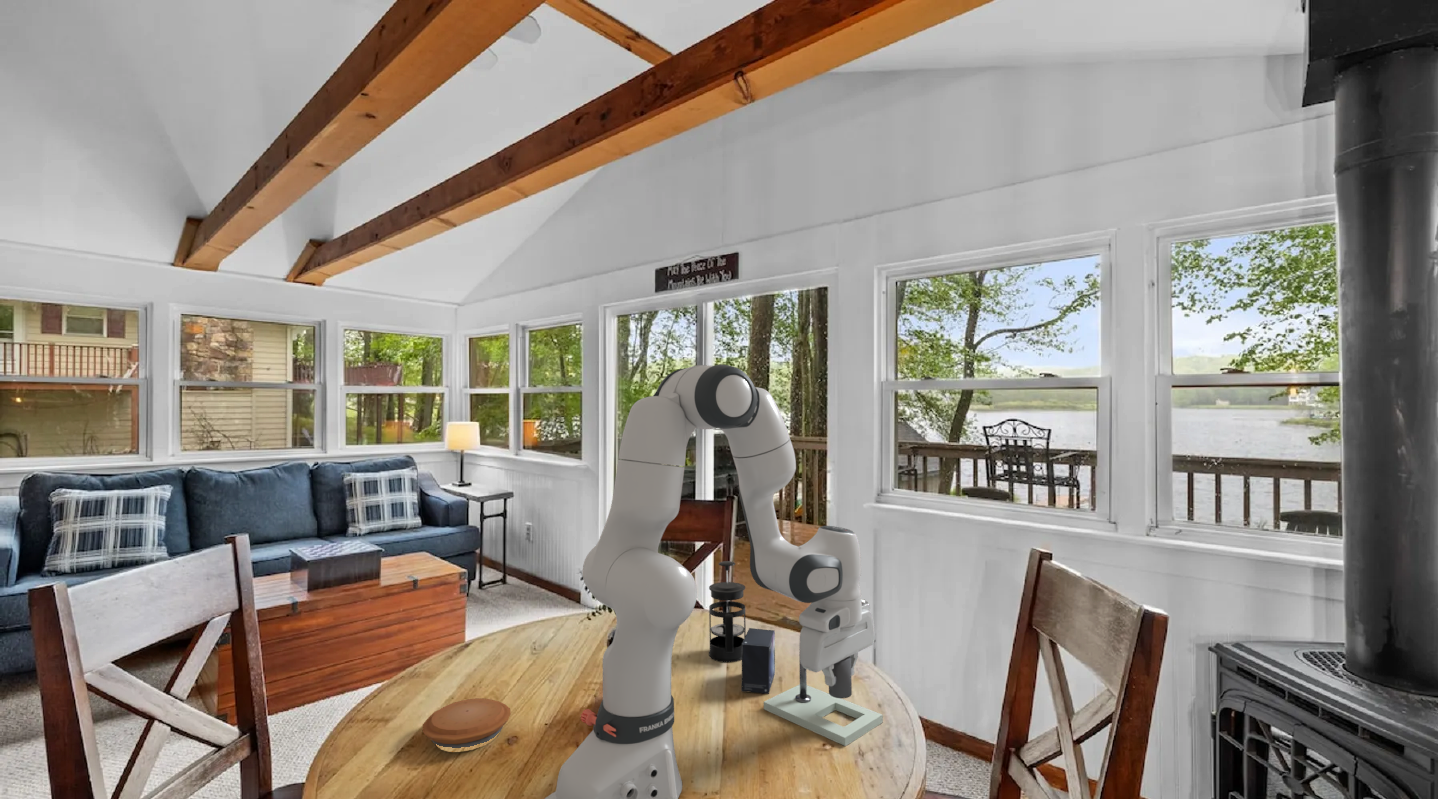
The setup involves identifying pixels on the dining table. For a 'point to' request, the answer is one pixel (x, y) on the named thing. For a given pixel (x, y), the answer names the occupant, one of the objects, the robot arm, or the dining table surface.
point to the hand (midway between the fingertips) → (839, 679)
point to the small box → (758, 661)
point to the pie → (466, 722)
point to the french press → (726, 620)
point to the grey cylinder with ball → (842, 679)
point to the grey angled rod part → (803, 686)
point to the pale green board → (823, 714)
